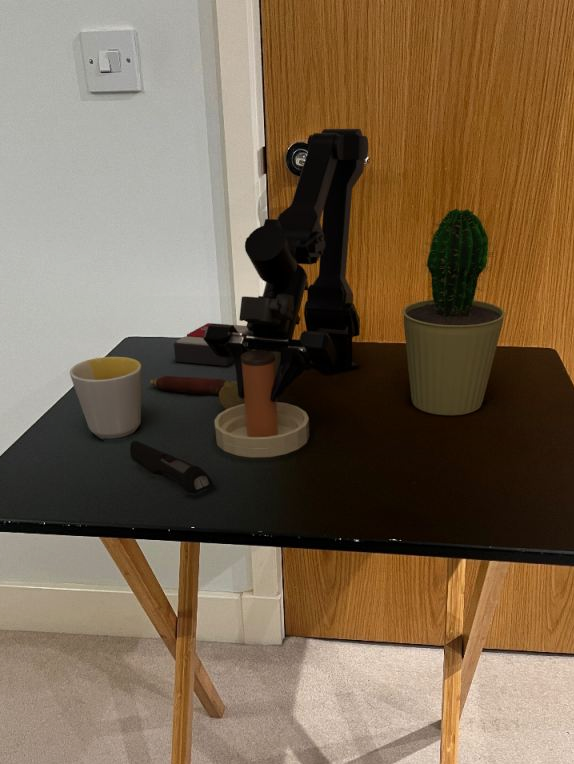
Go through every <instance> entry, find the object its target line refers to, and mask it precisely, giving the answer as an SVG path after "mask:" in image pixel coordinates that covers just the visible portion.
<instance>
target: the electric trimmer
mask: <svg viewBox="0 0 574 764" xmlns="http://www.w3.org/2000/svg"><path fill="white" fill-rule="evenodd" d="M129 453H130V457H131V458H132V459H133V460H135V461H136V462H137V463H138V464H140V465H141V466H142V467H144V468H145V469H146V470H147V471H149V472H151V473H152V474H153V475H163V476H165V477H167V478H169V479H170V480H172V481H174V482H176V483H178V484H179V485H181V486H183V487H184V488H185V489H186V491H187V493H189V494H191V493H192V494H194V495H195V494H198V493H199V492H201V491H204V490H206V489H209V488H210V487H213V485H214V483H213V481H212V479H211V477H210V476H209V475H208V473H207V472H206V471H205V470H203V468H201V467H199V466H198V465H194V464H191V463H189V462H187V461H185V460H183V459H182V460H181V459H180V458H177V457H175V456H174V455H171V454H168V453H167V452H166V453H165V452H164V451H161V450H158V449H156V448H154V447H152V446H149V445H148V444H145V443H143V442H141V441H138V440H133V441H131V443H130V446H129Z"/></svg>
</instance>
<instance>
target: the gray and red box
mask: <svg viewBox="0 0 574 764" xmlns="http://www.w3.org/2000/svg"><path fill="white" fill-rule="evenodd" d="M212 323H213V322H212ZM212 323H211V322H207V323H205V324H204V325H201V326H199V327H198V328H196V329H194V330H192V331H190V332H189V333H186V336H183V337H181V338H179V339H177V340H176V341H175V342H174V343H173V349H174V360H175V362H177V363H187V364H188V363H189V364H197V365H198V364H199V365H209V366H218V367H219V366H221V367H228V366H230V365H231V364H233V363H235V362H234V359H233V358H225V357H219V356H217V355H216V354H215V353H214V352H213V351H212V349H211V348H210V347H209V345H208V344H207V343H206V342H205V340H204V339H203V338H204V335H205V331H206V328H207V327H208V326H209V325H211V324H212ZM213 324H215V323H213ZM224 324H225V323H224ZM225 325H229V324H228V323H227V324H225ZM232 325H233V326H234V327H235V328H236V330H237V331H238V333H242V334H245V335H249V336H252V334H253V332H252V331H249V330H248V328H247V327H246V326H247V325H243V324H242V325H240V324H232Z"/></svg>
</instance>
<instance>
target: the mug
mask: <svg viewBox="0 0 574 764" xmlns="http://www.w3.org/2000/svg"><path fill="white" fill-rule="evenodd" d="M69 376H70V379H71V382H72V385H73V387H74V391H75V394H76V396H77V399H78V401H79V404H80V408H81V411H82V413H83V415H84V418H85V421H86V424H87V427H88V429H89V431H90V432H91V433H92V434H94V435H95V436H96V437H97V438H99V439H101V440H105V439H119V438H124V437H127V436H129V435H132V434H134V433H135V432H136V431H137V429H138V428H139V427H140V425H141V422H142V396H143V383H142V381H143V379H142V377H143V366H142V363H141V362H140V361H138V360H137V359H134V358H132V357H126V356H103V357H95V358H91V359H87V360H84V361H81V362H78V363H76V364H75V365H73V366H71V369H70V370H69Z"/></svg>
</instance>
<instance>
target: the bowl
mask: <svg viewBox="0 0 574 764" xmlns="http://www.w3.org/2000/svg"><path fill="white" fill-rule="evenodd" d="M277 420H278V435H275V436H270V437H247V430H246V416H245V404H241V405H238V406H234V407H231V408H228V409H225V410H223V411H221V412H219V413H218V414H217V416H216V417H215V419H214V420H213V422H214V423H213V424H214V434H215V442H216V445H217V447H218V448H220V449H221V450H222V451H223V452H226V453H228V454H230V455H231V454H232V455H234V456H238V457H243V458H253V459H254V458H257V459H258V458H274V457H278V456H285V455H287V454H290V453H293V452H295V451H298V450H299V449H301V448H302V447H303V446H305V445H307V443H308V441H309V439H310V418H309V415H308V413H307V411H306V410H303V409H302V408H301V407H299V406H297V405H293V404H290V403H287V402H278V401H277Z"/></svg>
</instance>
